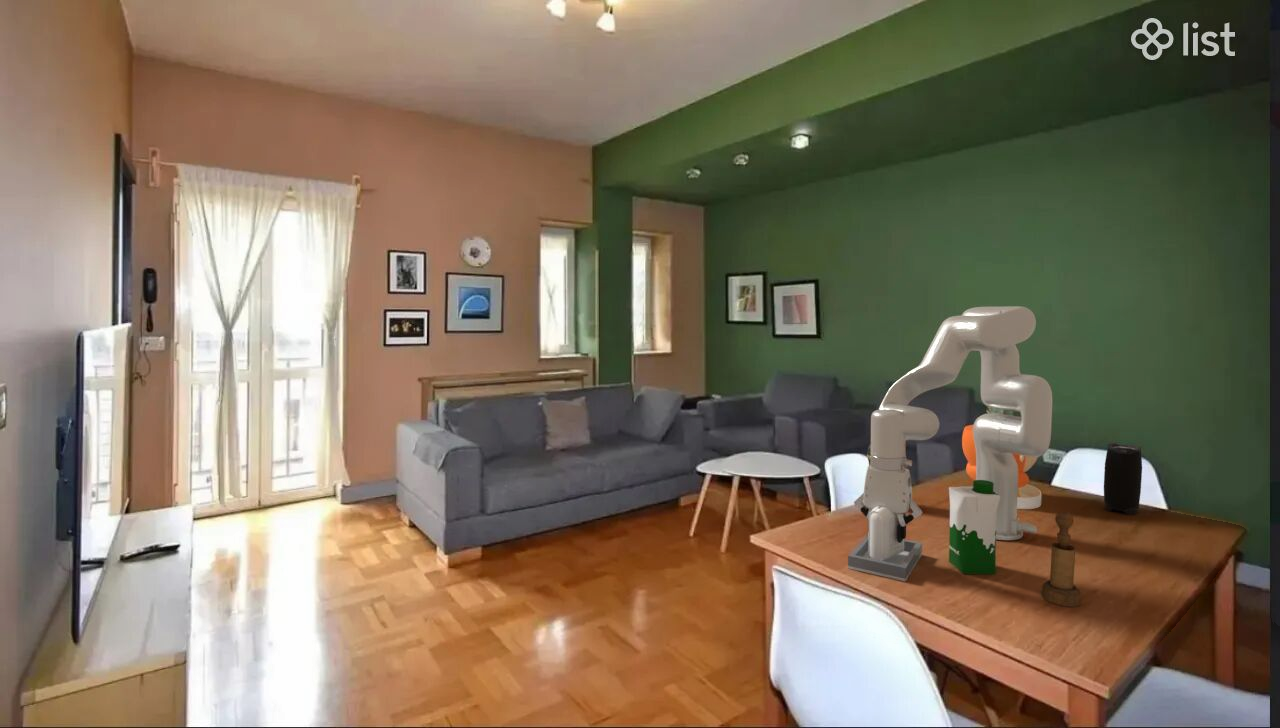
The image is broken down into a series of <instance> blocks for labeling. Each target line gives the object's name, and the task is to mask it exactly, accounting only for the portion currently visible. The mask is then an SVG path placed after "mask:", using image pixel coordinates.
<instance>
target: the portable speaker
mask: <svg viewBox="0 0 1280 728" xmlns="http://www.w3.org/2000/svg"><path fill="white" fill-rule="evenodd" d="M1103 475H1104V476H1103V502H1104V509H1105V510H1107V511H1109V512H1112V511H1113V510H1114V511H1115V510H1116V511H1120V512H1123V513H1124V514H1126V515H1135V514H1138V511H1139V508H1140V500H1141V493H1142V492H1141V491H1142V476H1143V460H1142V446H1140V445H1137V444H1130V445H1129V444H1128V445H1126V444H1119V443H1116V442H1115V443H1113V442H1112V443H1111V442H1110V443H1108V444H1107V449H1106V456H1105V462H1104V474H1103Z"/></svg>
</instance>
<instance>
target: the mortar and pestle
mask: <svg viewBox="0 0 1280 728" xmlns="http://www.w3.org/2000/svg"><path fill="white" fill-rule="evenodd" d="M1054 521H1055V523H1056V525H1057V526H1058V528H1059V531H1058V532H1057V533H1056V536H1057V541H1058V542H1052V543H1051V555H1050V556H1051V558H1050V571H1049V572H1050V574H1049V580H1047V581H1045V582H1042V586H1041V587H1042V589H1041V596H1042V598H1043V599H1044V600H1047V602H1050V603H1052V604H1053V605H1058V606H1063V607H1068V608H1069V607H1071V608H1072V607H1074V608H1075V607H1078V606H1080V605H1081V601H1082V600H1081V599H1082V591H1081V590H1080V589H1078V587H1077V586H1076V585H1074V579H1075V567H1076V566H1075V562H1076V547H1075V546H1073V545H1071V544H1069V543H1070V541H1071V537H1072V536H1071V535H1070V534H1069V530H1070V528H1071V527H1072V526H1073V524H1074V517H1073V516H1072V515H1071V514H1070V513H1069V512H1066V511H1061V512H1058V513H1057V514H1056V515H1055V517H1054Z"/></svg>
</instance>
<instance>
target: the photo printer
mask: <svg viewBox="0 0 1280 728" xmlns="http://www.w3.org/2000/svg"><path fill="white" fill-rule="evenodd" d="M898 525H899V519H898V517H897V514H896V513H892V512H891V511H890V510H889V509H888V508H887V507H885V506H883V507H881V506H877V507H875V508H874V509H873V510H872V511H871V512H870V514H869V532H868V531H867V532H868V533H867V535H868V554H869V556H870V557H871V558H873V559H875V560H884V559H887V558H890V557H892V556H894V555H897V554H899V553H901V552H903V551H904V539H903V541H902V542H901V543H899V542H897V528H898Z"/></svg>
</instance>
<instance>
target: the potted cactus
mask: <svg viewBox="0 0 1280 728" xmlns="http://www.w3.org/2000/svg"><path fill="white" fill-rule="evenodd" d="M979 397H980V398H981V395H980V396H979ZM988 413H997V414H1005V415H1011V416H1017V417H1021V412H1016V411H1009V410H1002V409H996V408H992V407H989V406H987V414H988ZM973 425H974V424H970V425H966V426H964V428H963V431H962V436H961V437H962V439H961V444H962V445H961V446H962V450H963V451H962V452H963V455H964V456H965V458H966V460H967V463H966V468H965V471H966V474H967V475H968V477H969V478H971V480H972V481H974V480H976V448H975V443H974V438H973ZM1012 455H1013V457H1014V459H1015V461H1016V463H1017V466H1018V490H1017V510H1032V509H1033V510H1035V509H1037V508H1038V509H1039V507H1041V505H1042V494H1043V493H1042V491H1041V490H1040V488H1037V487H1036V486H1034V485H1031V484H1029V482H1030V477H1029V475H1028V474H1027V473H1026V472H1027V471H1029V470H1030V469H1031V468H1032V467H1033V466H1034V465H1035V463H1036V462H1037V460H1038V458H1039V457H1027V456H1022V455H1017V454H1012Z"/></svg>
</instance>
